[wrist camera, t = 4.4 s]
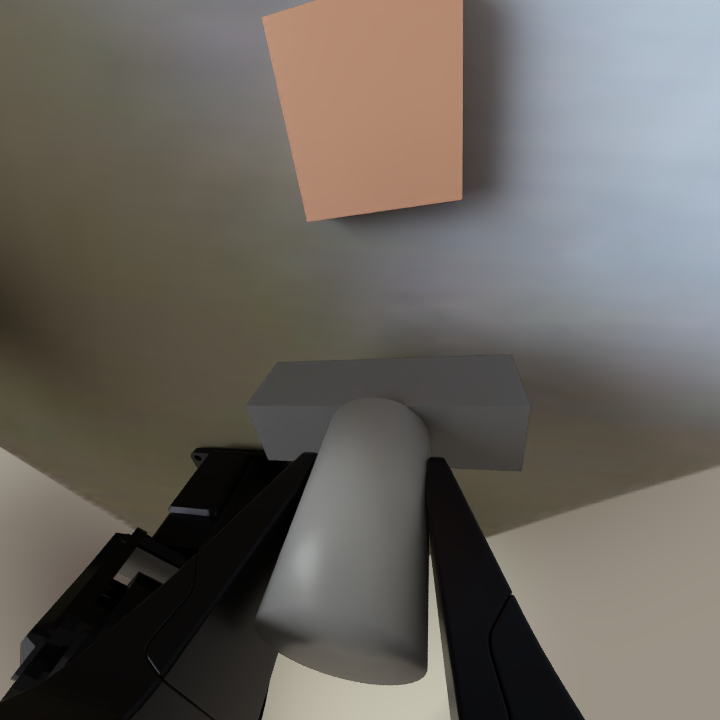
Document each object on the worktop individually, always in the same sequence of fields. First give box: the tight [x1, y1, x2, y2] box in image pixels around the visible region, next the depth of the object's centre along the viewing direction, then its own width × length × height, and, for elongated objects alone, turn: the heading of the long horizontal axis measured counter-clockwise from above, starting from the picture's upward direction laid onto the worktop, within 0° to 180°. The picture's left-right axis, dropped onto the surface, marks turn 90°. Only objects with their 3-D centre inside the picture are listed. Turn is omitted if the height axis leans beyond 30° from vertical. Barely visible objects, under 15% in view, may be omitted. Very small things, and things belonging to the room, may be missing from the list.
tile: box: [262, 0, 463, 222], centre depth 10 cm, size 5×5×2 cm
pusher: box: [246, 355, 531, 685], centre depth 9 cm, size 3×8×8 cm, turn 99°
